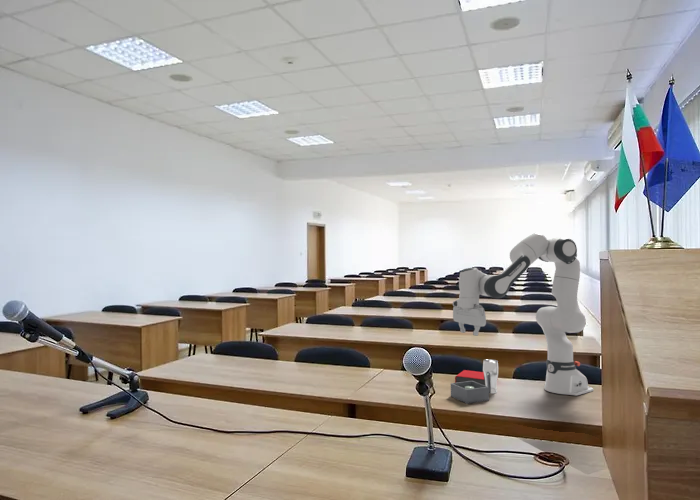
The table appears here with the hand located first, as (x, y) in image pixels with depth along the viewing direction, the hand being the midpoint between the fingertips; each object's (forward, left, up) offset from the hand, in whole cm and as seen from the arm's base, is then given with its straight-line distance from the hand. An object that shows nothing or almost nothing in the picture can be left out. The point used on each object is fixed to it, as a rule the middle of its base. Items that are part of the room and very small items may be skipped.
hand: (469, 334), depth 216 cm
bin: (0, 0, -29) cm, 29 cm away
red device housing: (-19, -20, -30) cm, 40 cm away
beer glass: (-15, -4, -29) cm, 33 cm away
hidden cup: (0, 0, -28) cm, 29 cm away
